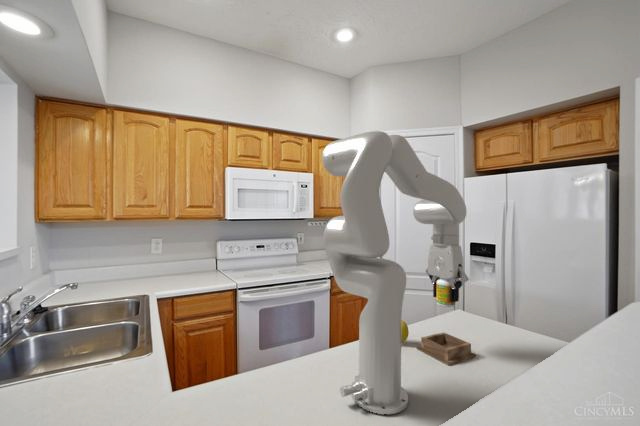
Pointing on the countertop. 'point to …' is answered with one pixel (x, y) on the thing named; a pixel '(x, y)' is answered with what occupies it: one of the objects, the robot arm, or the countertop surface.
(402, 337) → the lemon
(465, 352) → the brown square bottle holder
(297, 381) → the countertop surface
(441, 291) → the supplement bottle
